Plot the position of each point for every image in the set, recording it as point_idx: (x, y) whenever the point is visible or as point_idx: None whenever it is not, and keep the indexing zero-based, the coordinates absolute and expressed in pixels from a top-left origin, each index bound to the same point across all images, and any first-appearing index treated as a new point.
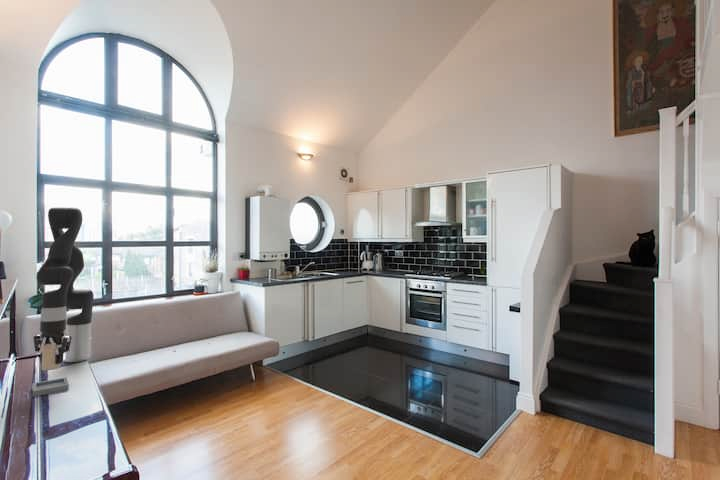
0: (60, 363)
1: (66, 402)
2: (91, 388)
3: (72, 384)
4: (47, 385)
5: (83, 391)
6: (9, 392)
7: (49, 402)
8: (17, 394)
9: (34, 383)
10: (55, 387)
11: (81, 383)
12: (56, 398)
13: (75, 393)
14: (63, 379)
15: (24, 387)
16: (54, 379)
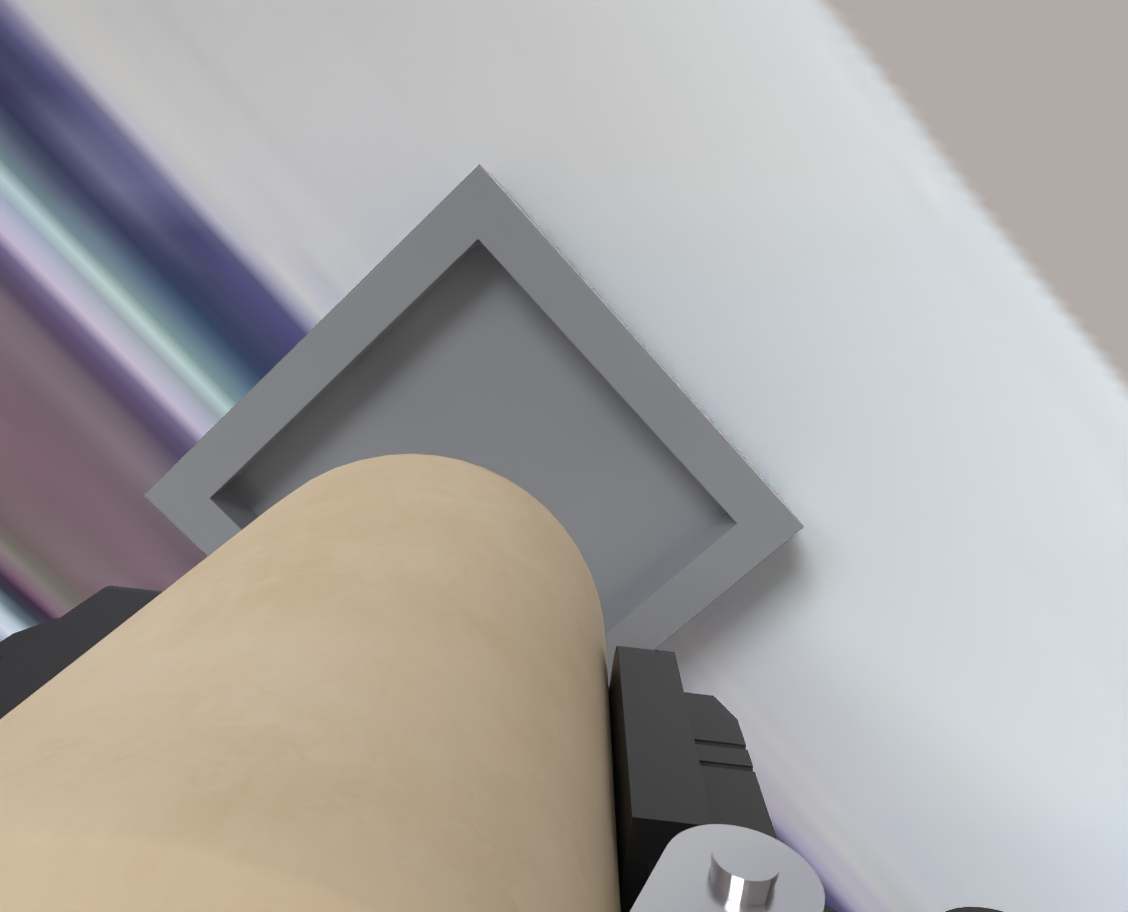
0: (585, 587)
1: (1060, 893)
2: (1106, 421)
3: (671, 266)
4: None
5: (1053, 543)
6: (6, 623)
7: (840, 898)
8: None
9: (187, 507)
10: (666, 634)
11: (792, 210)
12: (836, 786)
13: (981, 619)
14: (478, 237)
15: (21, 434)
16: (355, 302)
